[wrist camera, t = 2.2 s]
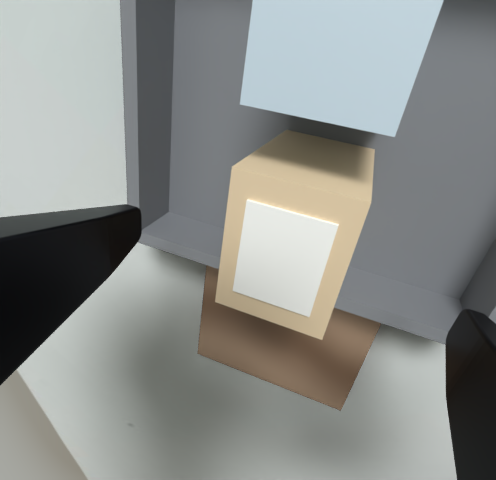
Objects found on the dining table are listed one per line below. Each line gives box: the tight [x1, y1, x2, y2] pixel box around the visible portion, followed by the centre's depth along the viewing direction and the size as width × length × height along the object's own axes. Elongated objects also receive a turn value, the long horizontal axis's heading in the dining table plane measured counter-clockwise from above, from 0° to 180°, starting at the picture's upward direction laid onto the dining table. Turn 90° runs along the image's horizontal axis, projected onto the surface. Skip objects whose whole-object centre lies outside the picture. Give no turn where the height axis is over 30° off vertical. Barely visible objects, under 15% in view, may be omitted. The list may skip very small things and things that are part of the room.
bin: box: [120, 0, 496, 345], centre depth 12 cm, size 13×15×3 cm
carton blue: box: [240, 0, 444, 137], centre depth 9 cm, size 4×4×6 cm
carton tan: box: [215, 130, 375, 340], centre depth 12 cm, size 4×4×6 cm
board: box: [198, 265, 381, 411], centre depth 19 cm, size 7×9×1 cm
